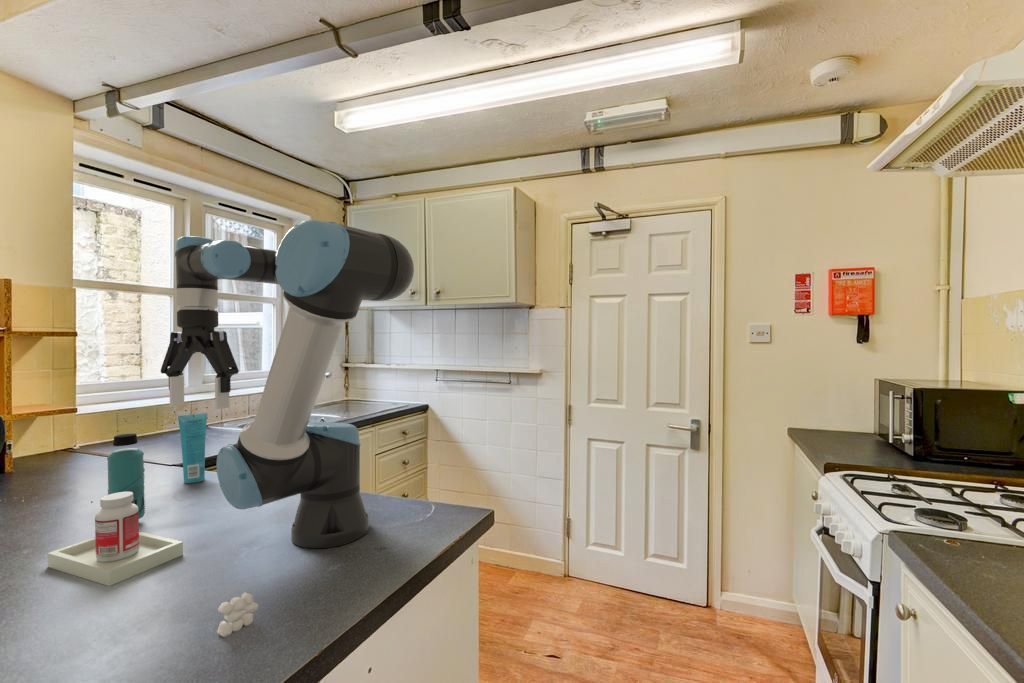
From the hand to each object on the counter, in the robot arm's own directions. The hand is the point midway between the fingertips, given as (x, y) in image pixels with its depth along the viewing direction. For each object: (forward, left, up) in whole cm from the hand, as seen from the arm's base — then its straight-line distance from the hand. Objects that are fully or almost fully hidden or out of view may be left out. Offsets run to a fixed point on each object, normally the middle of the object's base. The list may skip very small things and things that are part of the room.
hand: (199, 407), depth 103 cm
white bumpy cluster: (-41, +23, -26) cm, 53 cm away
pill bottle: (-2, +17, -25) cm, 30 cm away
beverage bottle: (+15, +6, -26) cm, 31 cm away
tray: (-2, +17, -26) cm, 31 cm away
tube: (+33, -21, -26) cm, 47 cm away
